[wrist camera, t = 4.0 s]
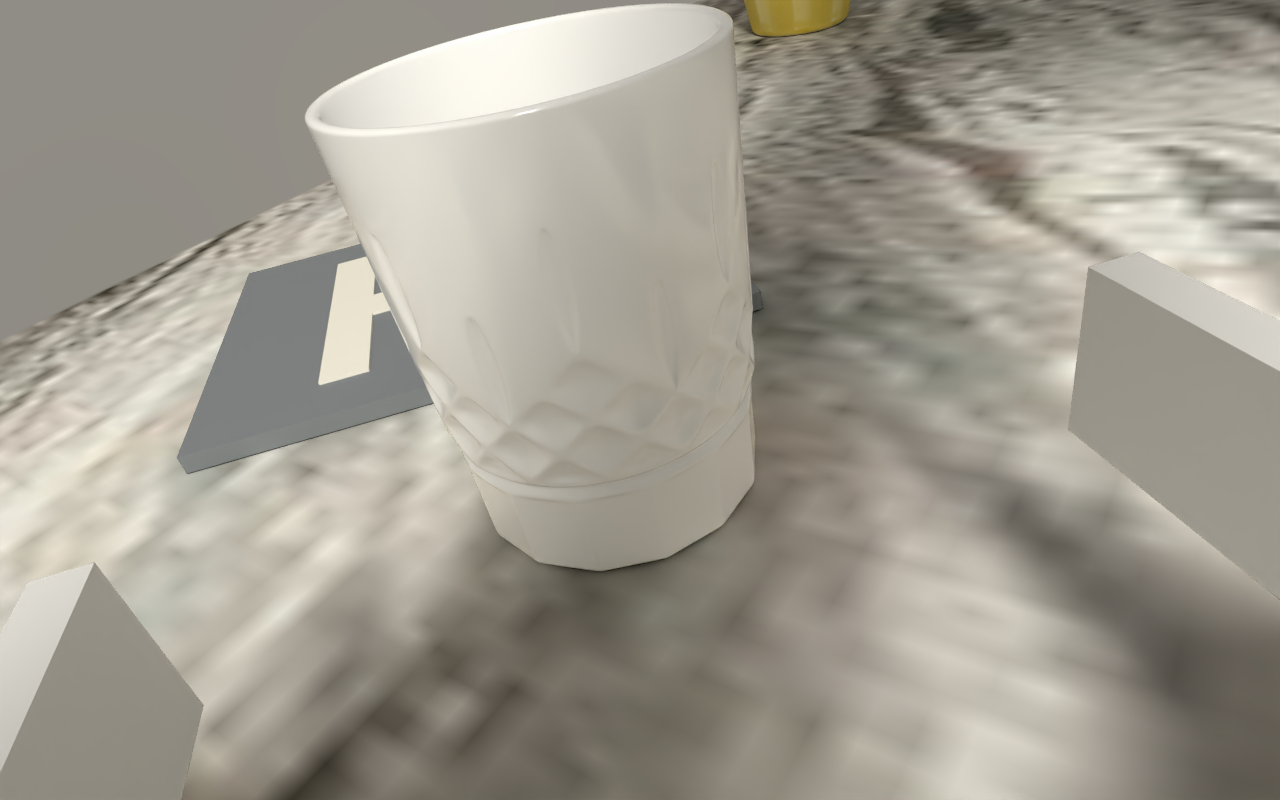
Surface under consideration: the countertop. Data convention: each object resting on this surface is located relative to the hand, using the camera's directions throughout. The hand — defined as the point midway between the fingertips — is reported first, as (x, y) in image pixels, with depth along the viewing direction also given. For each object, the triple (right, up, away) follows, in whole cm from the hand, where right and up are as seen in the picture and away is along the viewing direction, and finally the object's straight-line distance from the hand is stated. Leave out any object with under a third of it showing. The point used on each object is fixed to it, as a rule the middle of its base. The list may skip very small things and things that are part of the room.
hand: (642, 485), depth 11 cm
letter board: (-6, +5, +20) cm, 22 cm away
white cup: (0, -1, +10) cm, 10 cm away
